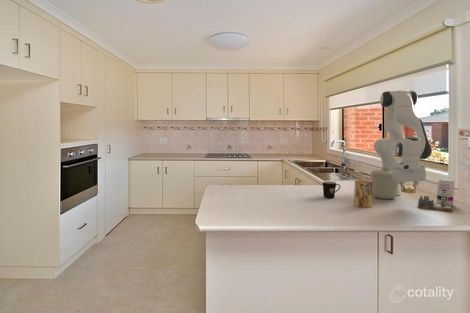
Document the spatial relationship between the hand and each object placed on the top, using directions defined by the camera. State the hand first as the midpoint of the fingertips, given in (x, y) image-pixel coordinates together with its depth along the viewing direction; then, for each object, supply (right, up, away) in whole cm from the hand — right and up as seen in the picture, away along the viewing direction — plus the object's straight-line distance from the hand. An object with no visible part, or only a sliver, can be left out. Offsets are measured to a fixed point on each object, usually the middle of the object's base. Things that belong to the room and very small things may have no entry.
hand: (408, 189), depth 175 cm
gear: (+11, -9, +2) cm, 15 cm away
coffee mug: (-37, -9, +24) cm, 45 cm away
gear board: (+15, -11, 0) cm, 18 cm away
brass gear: (0, -2, 0) cm, 2 cm away
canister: (-1, -9, +25) cm, 27 cm away
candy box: (-26, -11, +2) cm, 28 cm away
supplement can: (+27, -11, +9) cm, 30 cm away
